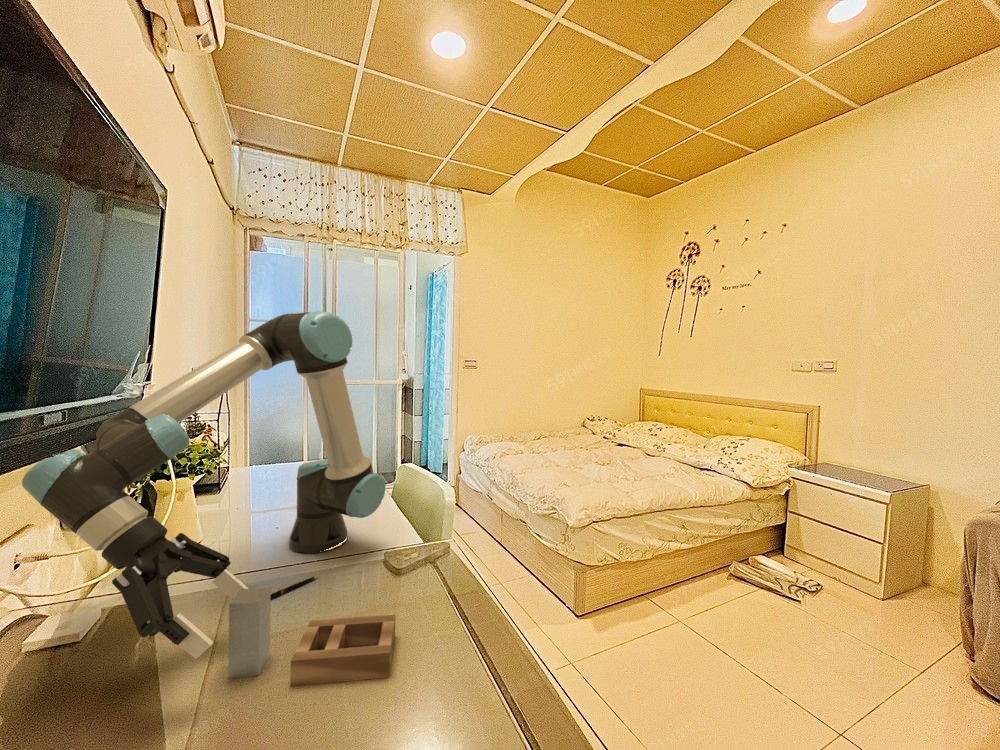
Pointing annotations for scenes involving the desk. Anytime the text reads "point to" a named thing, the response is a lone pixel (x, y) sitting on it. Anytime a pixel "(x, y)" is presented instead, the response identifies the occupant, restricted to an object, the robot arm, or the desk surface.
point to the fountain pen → (290, 588)
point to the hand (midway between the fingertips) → (228, 622)
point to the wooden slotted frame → (344, 650)
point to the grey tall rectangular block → (249, 632)
